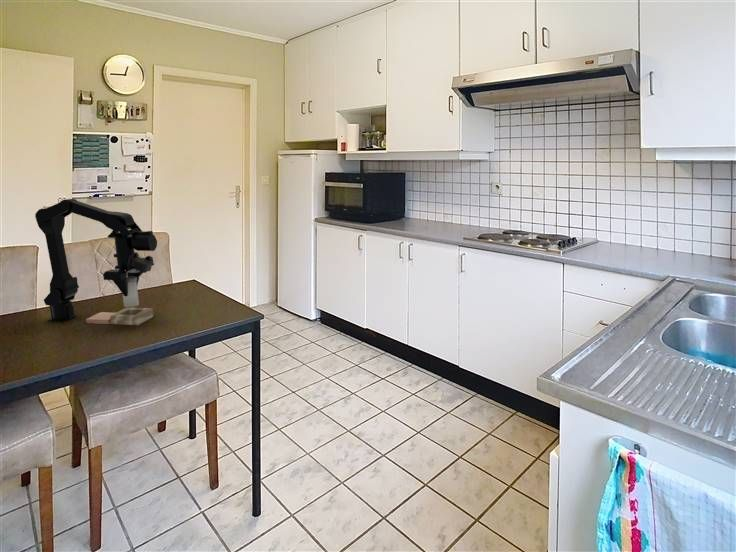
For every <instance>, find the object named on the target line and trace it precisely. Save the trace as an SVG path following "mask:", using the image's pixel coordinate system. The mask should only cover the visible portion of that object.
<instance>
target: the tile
mask: <svg viewBox="0 0 736 552" xmlns="http://www.w3.org/2000/svg"><path fill="white" fill-rule="evenodd" d="M115 313H116V312H108V311H107V312H105V311H101V312H97V313H96V314H94V315H92V316H90V317H88V318H86V319H85V321H86V324H98V325H101V324H102V325H109V324H111V320H110V316H111V315H113V314H115Z"/></svg>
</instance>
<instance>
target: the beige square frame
mask: <svg viewBox="0 0 736 552" xmlns="http://www.w3.org/2000/svg"><path fill="white" fill-rule="evenodd" d="M114 313H115V314H113V315H111V316H110V320H111V323H110V325H121V326H139V325H142V323H145V322H147V321H148V320H150V319H152V318H153V317H154V308H149V307H148V308H145V307H124V308H123V309H121V310H119V311H117V312H114Z"/></svg>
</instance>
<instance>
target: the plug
mask: <svg viewBox="0 0 736 552" xmlns="http://www.w3.org/2000/svg"><path fill="white" fill-rule="evenodd" d="M128 277H131V278H130V279H129V281H128V296H124V295H123V294H122V301H123V306H124V308H135V307H137V306H139V305H140V302H139V301H140V300H139V293H138V285H137V282H136V281H137V277H136V276H128Z"/></svg>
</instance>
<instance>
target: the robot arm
mask: <svg viewBox="0 0 736 552" xmlns="http://www.w3.org/2000/svg"><path fill="white" fill-rule="evenodd" d="M72 213H73V214H75V215H77V216H81V217H84V218H87V219H90V220H92V221H96V222H98V223H99V222H100V223H101V224H103V225H104V226H105V227H106V228H108V229H110V230H111V232H110V233H109V234H108V235H107V238H108V239H111V238H112V239H114V246H115V253H114V254H113V258H116V264H117V265H115V266H114V269H113V268H111V269H109V270H106V271H104V272H103V273H102V277H103V280H104V281H112V283H114V284H115V286H116V287H117V288H118V289H119V290H120V291H119V292H121V294H122V296H123V295H124V296H128V281H129V279H130V278H131V277H128V276H136V277H137V281H136V282H137V286H138V283H139V281H140V277H141V276H142V275H143V274H144V273H148V272H151V270H152V267H153V266H154V265H155V263H154V259H153V258H154V257H153V256H152V255H151V256H150V255H147V256H145V257H140V255H139V253H138V251H140V252H141V251H143V252H144V251H145V252H154V251H156V249H157V246H158V240H157V237H156V236H155V234H154V232H153V231H152V230H146V231H143V230H142V229H141V228H140V226H139V225H138V224H137V222H135V220H134V218H133V216H132V215H131V213H130V214H129V213H127V212H120V211H111V210H105V209H103V208H99V207H98V206H94V205H91V204H89V203H85V202H82V201H79V200H77V199H75V198H68V199H67V198H65V199H63V200H61V201H60V202H58V203H55V204H53V205H51V206H48V207H45V208H39V209H38V210H37V211H36V212H35V214H34V215H35V216H34V217H35V221H36V223H37V227H38V228H39V229H40V230H41V232H42V233H43V234H44V236H45V242H46V247H47V252H48V257H49V262H50V267H51V273H52V277H51V280H50V281H49V282H50V283H49V293H48V294H47V295H46V296H45V298H44V299H43V302H44V304H45V306H49V311H50V318H48V320H47V321H48V322H63V323H64V322H67V321H69V320H71V319H73V318H76V317H77V314H75V309H74V305H73V302H72V301H73V300H75V298H76V297H75V296H76V294H77V293H78V291H79V288H80V286H79V284H78V283H79V282H78V278H77V276H72V275H71V273H70V271H69V266H68V259H67V255H66V254H67V253H66V249H65V243H64V238H63V230H64V227H65V223H66V220H65V219H66V217H68V216H69V215H71V214H72Z"/></svg>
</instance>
